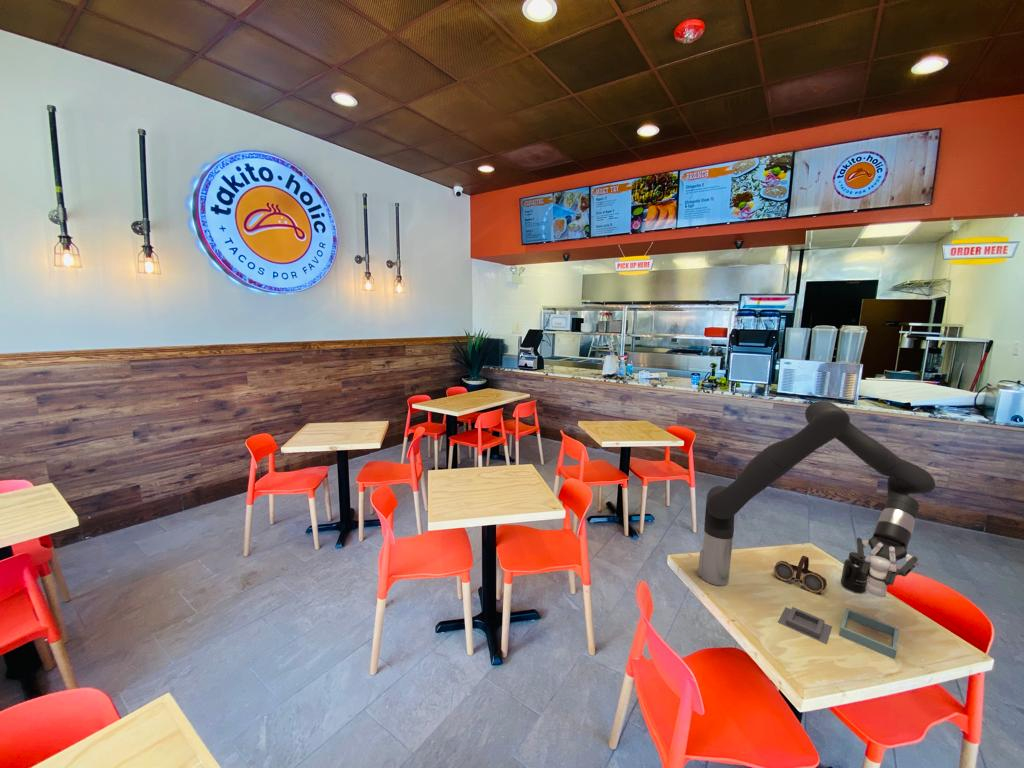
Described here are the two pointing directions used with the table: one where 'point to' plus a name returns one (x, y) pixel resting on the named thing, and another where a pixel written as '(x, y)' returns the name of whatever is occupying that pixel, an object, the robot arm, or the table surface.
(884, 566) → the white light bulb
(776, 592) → the table surface
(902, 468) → the robot arm
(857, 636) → the parts tray
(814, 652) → the table surface
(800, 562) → the goggles
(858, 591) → the supplement bottle
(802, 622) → the grey recessed base plate
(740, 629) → the table surface
